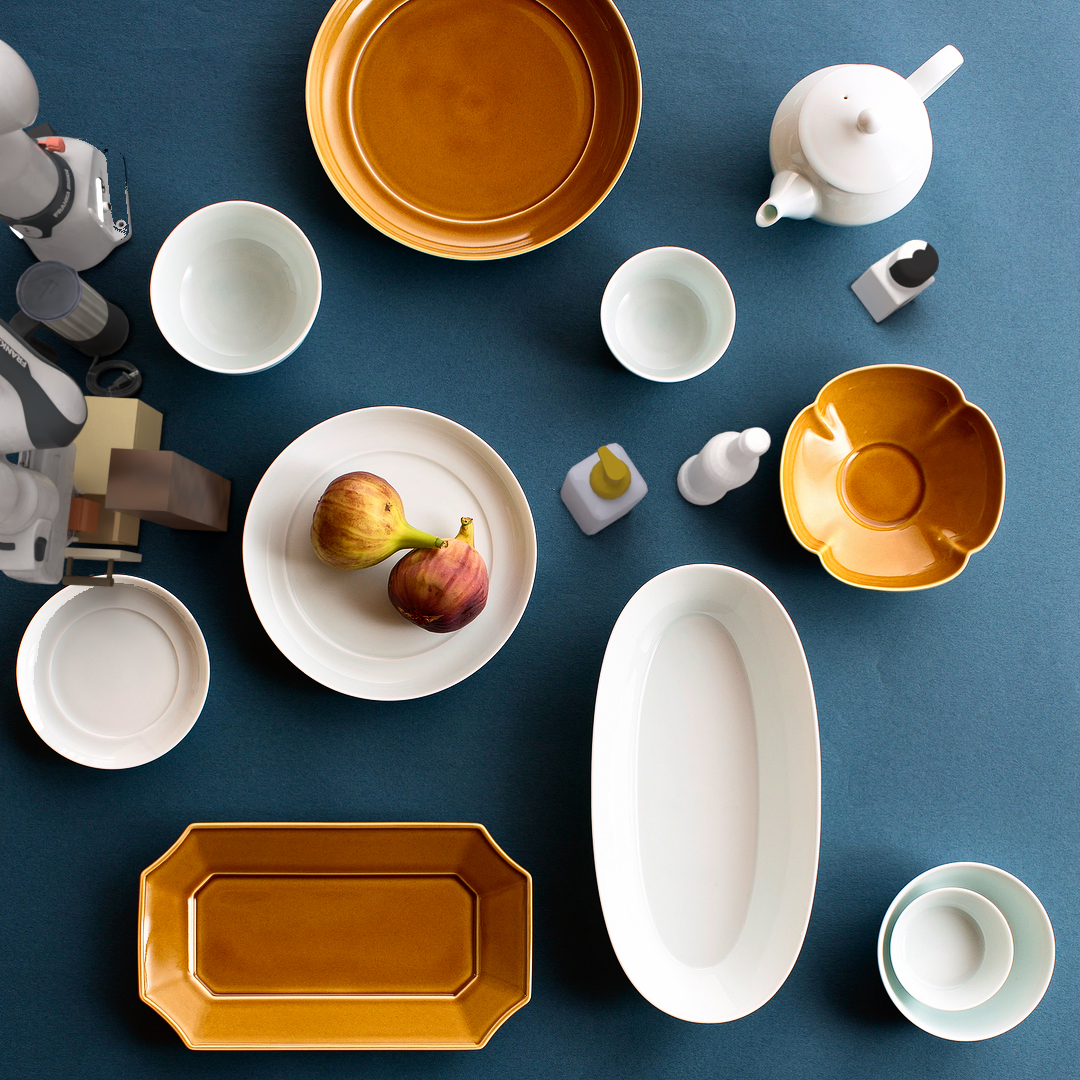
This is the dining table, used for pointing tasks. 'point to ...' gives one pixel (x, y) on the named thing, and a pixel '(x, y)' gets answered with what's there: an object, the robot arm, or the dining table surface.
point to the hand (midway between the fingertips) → (76, 516)
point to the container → (897, 278)
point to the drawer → (109, 531)
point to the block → (83, 515)
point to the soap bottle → (602, 488)
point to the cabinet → (112, 437)
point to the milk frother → (74, 322)
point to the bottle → (722, 465)
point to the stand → (167, 490)
